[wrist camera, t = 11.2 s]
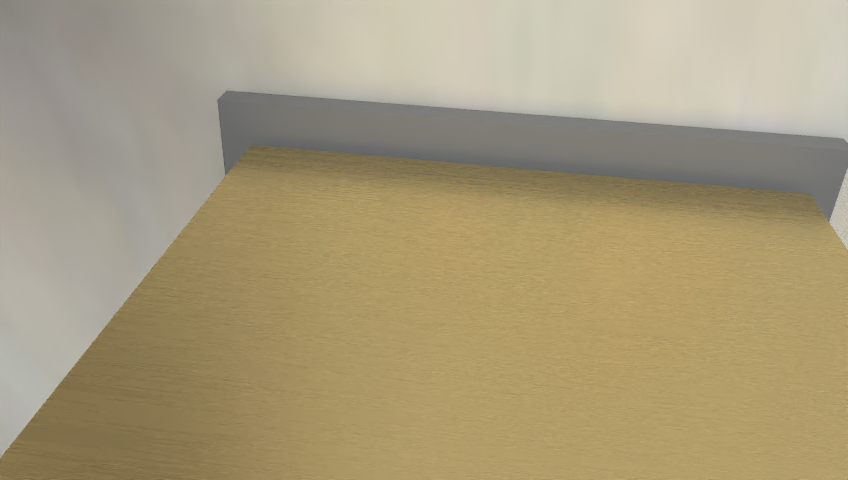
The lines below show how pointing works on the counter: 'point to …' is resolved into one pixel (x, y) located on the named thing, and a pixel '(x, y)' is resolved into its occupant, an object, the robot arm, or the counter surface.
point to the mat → (537, 143)
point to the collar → (465, 333)
